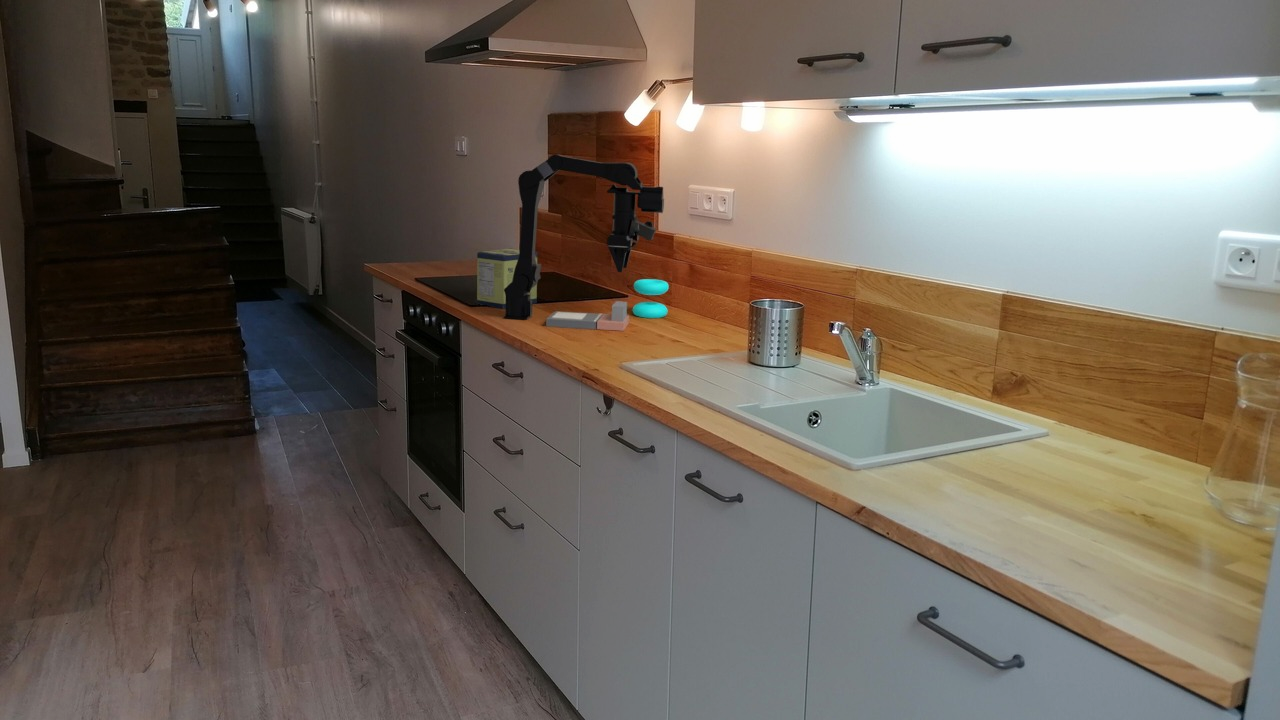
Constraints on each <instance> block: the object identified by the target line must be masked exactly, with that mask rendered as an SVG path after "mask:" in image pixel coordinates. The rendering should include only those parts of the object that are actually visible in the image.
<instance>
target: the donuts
mask: <svg viewBox="0 0 1280 720" xmlns="http://www.w3.org/2000/svg"><path fill="white" fill-rule="evenodd" d="M669 288H670V286H669V283H668V282H667V281H665V280H662V279H654V278H652V279H651V278H647V279H646V278H643V279H638V280H636V281H635V282H634V283H633V289H634V290H635V291H636V292H637V293H639V294H640V295H647V296H658V295H663V294H665V293H666V292H668V290H669ZM668 312H669V310H668V308H667V307H666V305H664V304H663V303H660V302H656V301H655V302H654V301H642V302H638V303H636V304H634V306H633V308H632V313H633V314H634V316H635V317H639V318H644V319H645V318H647V319H659V318H664V317H666V316H667V315H668Z"/></svg>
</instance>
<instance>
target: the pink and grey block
mask: <svg viewBox="0 0 1280 720" xmlns="http://www.w3.org/2000/svg"><path fill="white" fill-rule="evenodd" d="M627 312H628V301H621V300H620V301H619V300H618V301H617V300H615V302H614V303H613V304H612V306H611V313H602V314H603V315H602V316H601V318H600V319H599V320H598V321H597V329H596V330H605V331H618V332H619V331H621V332H623V331H625V329H626V328H627V326H628V325H629V323H630V315H629V314H628V313H627Z"/></svg>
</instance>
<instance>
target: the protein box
mask: <svg viewBox="0 0 1280 720" xmlns="http://www.w3.org/2000/svg"><path fill="white" fill-rule="evenodd" d="M519 250H520V249H517V248H505V249H495V250H486V251H478V252H477V255H476V257H477V259H476V260H477V265H476V266H477V267H476V269H477V273H476V277H477V278H476V282H477V283H476V285H477V286H476V288H477V289H476V298H477V299H476V301H477V302H476V304H477V303H479V304H483V305H487V306H486V307H488V306H490V308H495V309H500V310H505V308H506V295H505V292H504V289H505V288H506V287H507V286H508V285H509V284H510V283H511V282H512V279H513V275H514V271H515V267H516V264H517V261H518V258H519ZM535 260H536V264H538V251H535ZM537 290H538V283H537V284H536V285H535V286H534V287H533V288H531V291H530V293H528V295H530V300H532V305H534V304H537V297H538V293H537V292H538V291H537Z"/></svg>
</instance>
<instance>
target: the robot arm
mask: <svg viewBox="0 0 1280 720" xmlns="http://www.w3.org/2000/svg"><path fill="white" fill-rule="evenodd" d="M558 171H565V172H570V173H575V174H576V173H577V174H582V175H587V176H594V177H598V178H603V179H605V180H607V181H609V182H612V183H613V184H612V185H611V187H610V188H609V189H607V190H606V193H607V194H613V214H612V215H611V220H613V221H612V222H613V223H612V230H611V234H610V235H609V236H608V237H606V245H607V249H608V250H609V252H610V256H611V257H612V260H613V263H614V266H615V268H616V271H617V272H618V273H623V269H626V268H627V267H628V265H629V259H630V256H631V252H632V249H633V247H635V246H636V245H637V244H638V241H639V240H640V239H639V237H640V238H644V239H645V241H649V242H651V241H652V240H653V238H654V236H655V233H656V231H657V228H656V227H654V223H653V221H650V220H647V221H646V222H645V223H644V222H641V221H639V220H638V215H636V202H637V209H640V212H642V213H655V214H663V212H664V210H665V209H664V207H665V199H664V186H655V187H654V186H644V183H643V182H642V181H641V179H640V177H638V174H639V172H638V169H637V167H636V166H635V165H634V164H633V163H631V162H600V161H594V160H588V159H582V158H575V157H570V156H565V155H562V154H552V155H550V156H549V158H548V159H546V160H545V161H544V162H542V163H540V164H539V165H537V166H536V167H535V168H533V169H531V170H529V169H528V170H525V171H523V172H522V173H521V174H520V175H519V176H518V181H517V182H518V183H517V184H518V191H519V193H518V194H519V197H520V201H521V216H520V217H521V219H520V220H521V221H520V233H519V234H520V236H519V238H520V239H519V249H518V250H519V258H518V261H517V264H516V267H515V271H514V275H513V279H512V282H511V283H510V284H509V285H508V286H507V287H506V288H505V289H504V292H505V295H506V308H505V309H504V310H505V312H504V313H505V314H504V315H503V319H511V320H512V319H513V320H514V319H515V320H528V319H530V318H531V317H532V316H533V304H532V300H530V295H528V293H530V291H531V288H533V287H534V286H535V285H536V284H537V285H538V283H539V280H540V279H541V278H542V277H541V268H542V263H537V264H536V260H535V252H536V241H537V230H538V229H537V228H538V226H537V225H538V224H537V223H538V211H539V209H538V208H539V204H540V201H541V197H542V195H543V192H544V187H545V183H546V182H547V181H548V180H549V179H550V178H552V177H554V175H555V174H556V173H557V172H558ZM616 184H618V185H621V186H622V187H621V186H617V185H616ZM623 186H627V187H623ZM628 187H629V188H628ZM629 189H631V190H633V191H629ZM636 197H637V198H636ZM633 240H635V241H633Z"/></svg>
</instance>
